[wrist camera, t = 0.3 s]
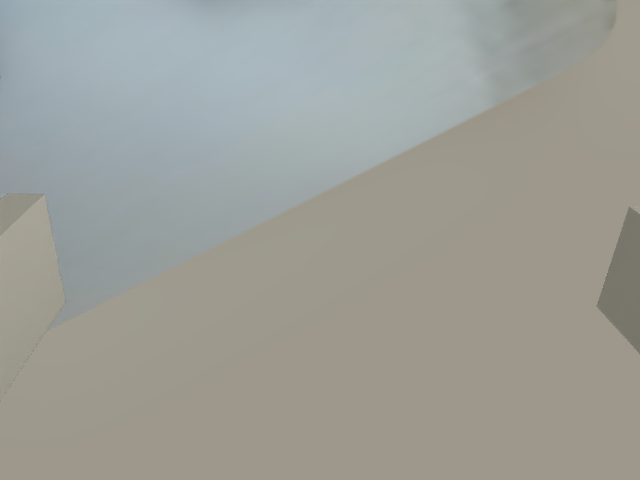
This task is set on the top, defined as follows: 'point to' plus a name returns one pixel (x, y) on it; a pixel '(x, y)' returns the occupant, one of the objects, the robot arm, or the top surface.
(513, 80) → the top surface
